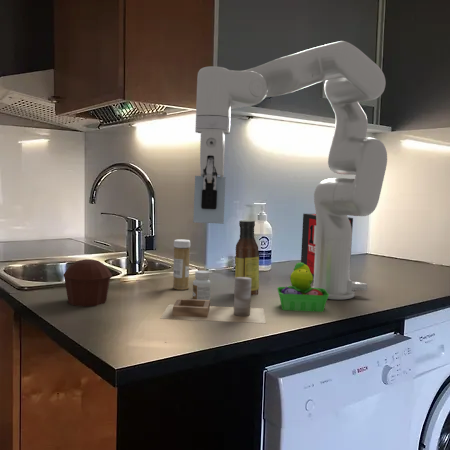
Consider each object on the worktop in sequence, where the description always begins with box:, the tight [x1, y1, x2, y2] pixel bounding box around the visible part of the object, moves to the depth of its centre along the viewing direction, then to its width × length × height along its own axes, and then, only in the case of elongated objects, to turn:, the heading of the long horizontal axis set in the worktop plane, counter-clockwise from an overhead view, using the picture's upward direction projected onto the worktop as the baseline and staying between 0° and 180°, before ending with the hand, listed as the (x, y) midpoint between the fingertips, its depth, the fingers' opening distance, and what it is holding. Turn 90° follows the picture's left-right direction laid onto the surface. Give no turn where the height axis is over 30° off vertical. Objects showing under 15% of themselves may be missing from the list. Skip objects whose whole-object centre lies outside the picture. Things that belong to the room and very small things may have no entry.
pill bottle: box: [192, 270, 212, 301], centre depth 124 cm, size 4×4×8 cm
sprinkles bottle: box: [172, 238, 191, 291], centre depth 139 cm, size 5×5×14 cm
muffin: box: [63, 258, 113, 307], centre depth 121 cm, size 12×11×10 cm
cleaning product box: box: [300, 213, 354, 280], centre depth 162 cm, size 16×9×20 cm, turn 16°
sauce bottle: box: [234, 219, 260, 296], centre depth 133 cm, size 7×6×20 cm
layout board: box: [159, 277, 267, 324], centre depth 111 cm, size 22×12×9 cm, turn 88°
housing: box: [192, 175, 227, 224], centre depth 112 cm, size 6×6×10 cm
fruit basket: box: [276, 261, 329, 313], centre depth 119 cm, size 11×9×11 cm
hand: (209, 207), depth 112 cm, fingers closed on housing, 6 cm apart
